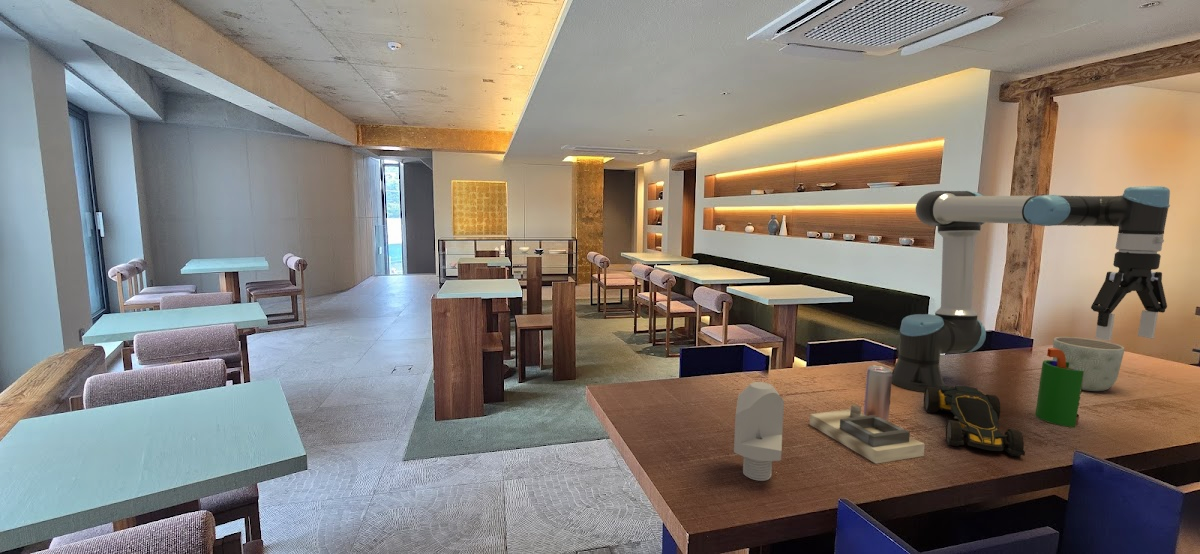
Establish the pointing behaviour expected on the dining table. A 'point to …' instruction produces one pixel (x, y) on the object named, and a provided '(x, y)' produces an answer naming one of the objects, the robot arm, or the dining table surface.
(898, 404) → the dining table surface
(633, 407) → the dining table surface
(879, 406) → the beverage can
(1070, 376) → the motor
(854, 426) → the board
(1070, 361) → the planter
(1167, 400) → the dining table surface
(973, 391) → the toy car
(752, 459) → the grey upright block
